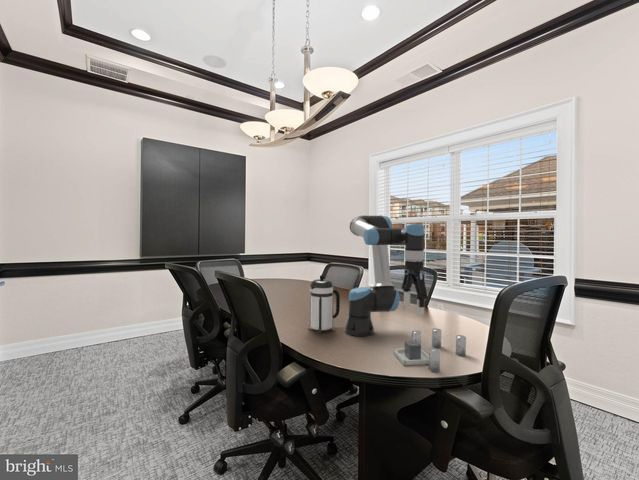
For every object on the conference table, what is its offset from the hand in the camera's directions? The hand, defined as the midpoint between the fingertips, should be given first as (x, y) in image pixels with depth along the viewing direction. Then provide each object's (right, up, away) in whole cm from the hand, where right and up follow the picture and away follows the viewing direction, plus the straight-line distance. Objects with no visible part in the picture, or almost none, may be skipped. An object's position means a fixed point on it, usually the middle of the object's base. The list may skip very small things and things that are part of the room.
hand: (413, 310), depth 130 cm
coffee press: (-38, -19, +38) cm, 57 cm away
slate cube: (0, -20, 0) cm, 20 cm away
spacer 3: (+5, -21, -10) cm, 24 cm away
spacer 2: (+15, -20, +14) cm, 29 cm away
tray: (0, -21, 0) cm, 21 cm away
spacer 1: (+5, -20, +11) cm, 24 cm away
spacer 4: (+22, -21, +5) cm, 31 cm away
